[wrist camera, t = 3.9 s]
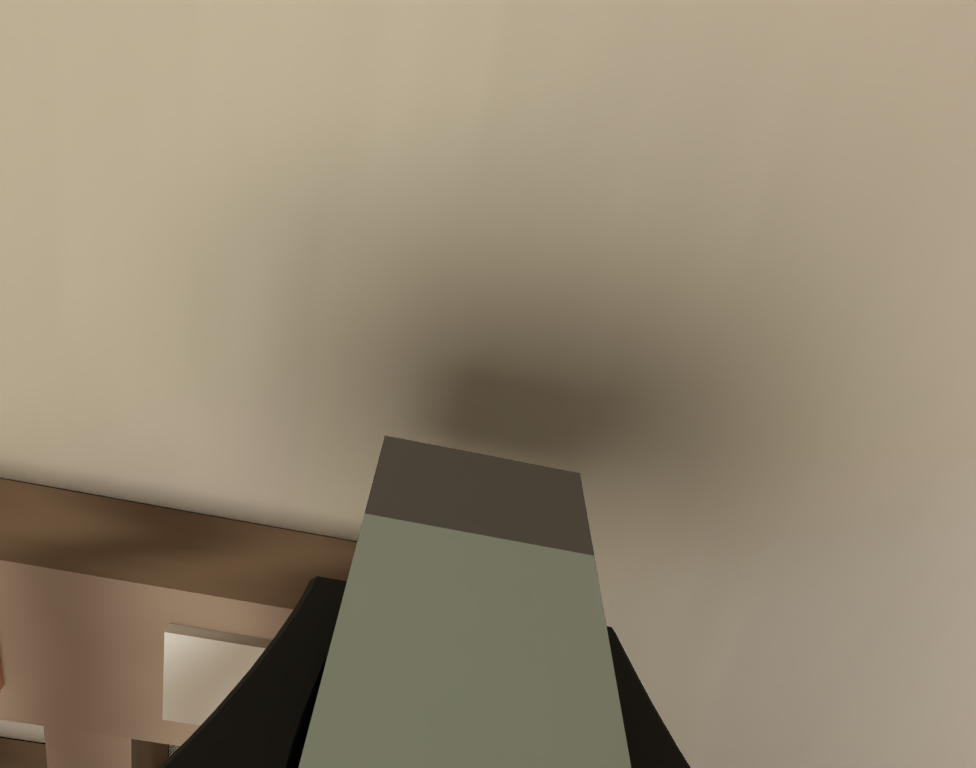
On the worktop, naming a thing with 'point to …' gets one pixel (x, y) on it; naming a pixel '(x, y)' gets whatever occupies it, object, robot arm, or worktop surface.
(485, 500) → the grey-green block
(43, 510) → the socket board
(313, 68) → the worktop surface
